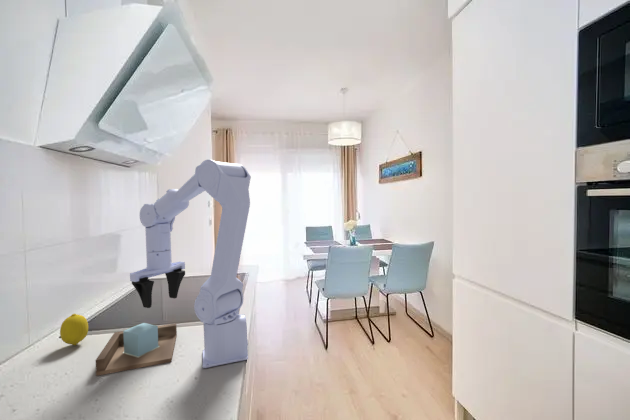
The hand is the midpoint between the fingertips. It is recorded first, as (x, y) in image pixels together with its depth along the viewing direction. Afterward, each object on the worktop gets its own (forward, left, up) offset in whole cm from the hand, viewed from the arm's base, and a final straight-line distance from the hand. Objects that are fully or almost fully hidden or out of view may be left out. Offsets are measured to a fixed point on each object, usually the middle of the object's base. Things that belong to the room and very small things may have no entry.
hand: (160, 302), depth 78 cm
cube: (+4, +7, -8) cm, 12 cm away
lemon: (+20, -4, -10) cm, 23 cm away
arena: (+4, +7, -9) cm, 12 cm away
